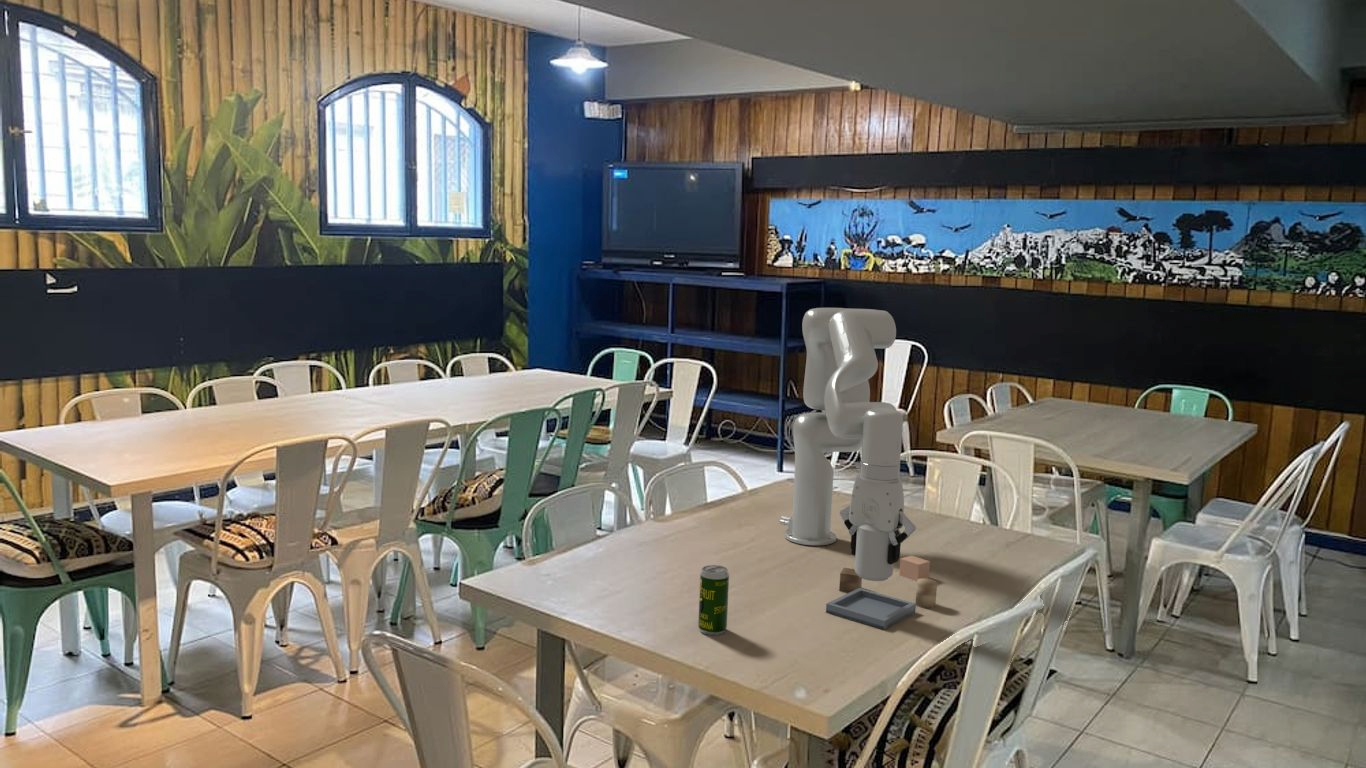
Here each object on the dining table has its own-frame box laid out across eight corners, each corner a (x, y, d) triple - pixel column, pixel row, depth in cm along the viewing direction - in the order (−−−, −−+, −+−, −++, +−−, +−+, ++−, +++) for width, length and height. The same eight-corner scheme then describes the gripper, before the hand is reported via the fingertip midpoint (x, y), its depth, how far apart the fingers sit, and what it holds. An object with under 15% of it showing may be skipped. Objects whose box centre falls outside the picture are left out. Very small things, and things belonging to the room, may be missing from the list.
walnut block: (839, 591, 219) (840, 573, 218) (842, 585, 222) (843, 567, 222) (857, 594, 217) (859, 575, 217) (861, 588, 221) (862, 570, 220)
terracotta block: (899, 575, 230) (900, 558, 229) (910, 572, 233) (911, 555, 232) (917, 582, 226) (918, 564, 226) (928, 578, 229) (929, 561, 228)
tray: (825, 612, 206) (826, 603, 205) (858, 596, 216) (859, 587, 215) (883, 629, 198) (884, 620, 197) (915, 612, 208) (915, 603, 207)
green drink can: (710, 622, 198) (712, 562, 196) (732, 630, 195) (735, 569, 193) (692, 630, 194) (694, 569, 192) (714, 638, 191) (717, 576, 189)
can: (892, 584, 201) (896, 524, 199) (853, 580, 203) (857, 521, 201) (892, 572, 208) (896, 514, 207) (855, 568, 210) (858, 511, 208)
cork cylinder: (912, 604, 212) (913, 581, 211) (921, 599, 215) (922, 576, 214) (929, 609, 209) (931, 586, 209) (938, 604, 212) (940, 581, 212)
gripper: (831, 466, 205) (826, 552, 207) (911, 482, 194) (905, 572, 197) (851, 461, 211) (846, 544, 213) (929, 476, 200) (923, 563, 202)
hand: (874, 557), depth 205 cm, fingers closed on can, 7 cm apart
